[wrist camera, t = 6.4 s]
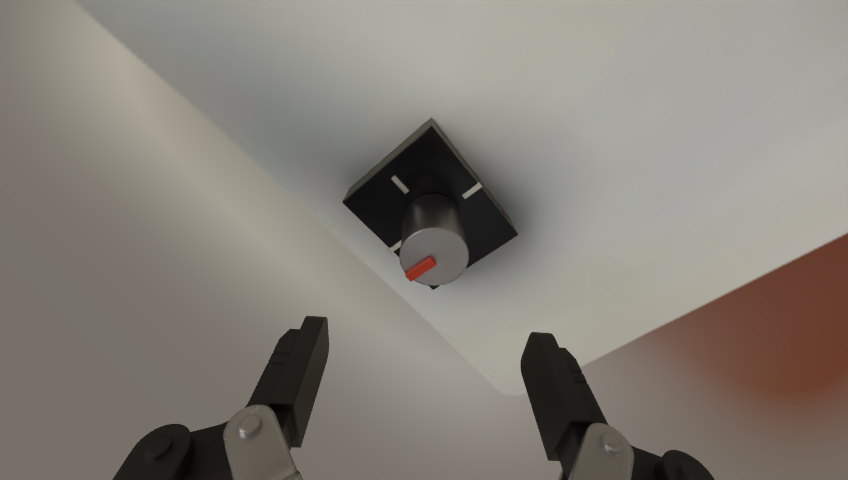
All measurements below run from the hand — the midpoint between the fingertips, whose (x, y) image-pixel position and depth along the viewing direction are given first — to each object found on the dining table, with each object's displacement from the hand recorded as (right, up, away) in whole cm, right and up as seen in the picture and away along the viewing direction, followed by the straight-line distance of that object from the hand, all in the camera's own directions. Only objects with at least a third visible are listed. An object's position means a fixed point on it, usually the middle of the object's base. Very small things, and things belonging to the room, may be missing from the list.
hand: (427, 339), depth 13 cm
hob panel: (+1, +7, +12) cm, 14 cm away
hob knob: (+1, +5, +10) cm, 12 cm away
